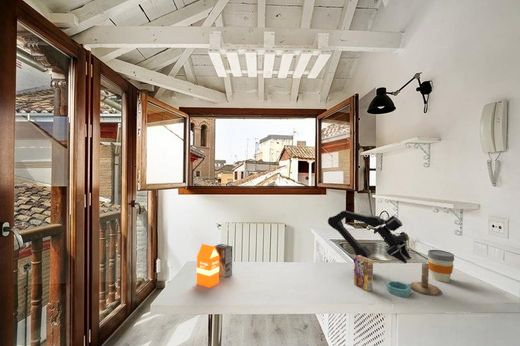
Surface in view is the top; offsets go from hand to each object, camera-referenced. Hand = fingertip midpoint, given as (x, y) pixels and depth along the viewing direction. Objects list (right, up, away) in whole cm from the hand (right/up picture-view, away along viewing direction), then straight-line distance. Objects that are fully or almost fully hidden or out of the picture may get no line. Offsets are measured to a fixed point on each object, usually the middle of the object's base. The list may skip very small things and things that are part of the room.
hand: (408, 260), depth 145 cm
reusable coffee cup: (+23, -14, +9) cm, 28 cm away
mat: (+5, -13, -5) cm, 15 cm away
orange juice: (-107, -11, -3) cm, 107 cm away
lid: (+6, -13, -5) cm, 15 cm away
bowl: (-10, -13, -9) cm, 19 cm away
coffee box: (-101, -11, +10) cm, 102 cm away
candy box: (-25, -13, -3) cm, 29 cm away
